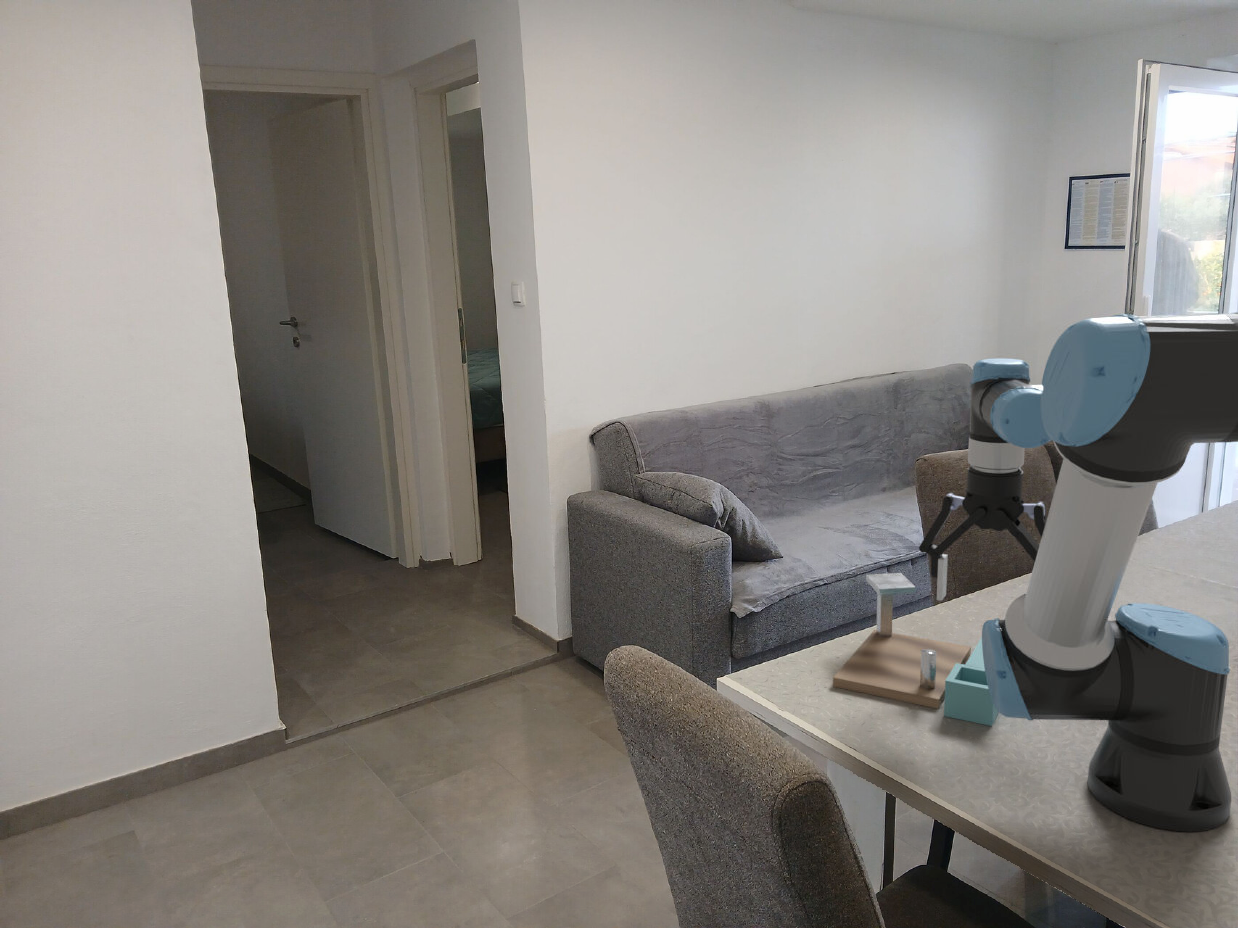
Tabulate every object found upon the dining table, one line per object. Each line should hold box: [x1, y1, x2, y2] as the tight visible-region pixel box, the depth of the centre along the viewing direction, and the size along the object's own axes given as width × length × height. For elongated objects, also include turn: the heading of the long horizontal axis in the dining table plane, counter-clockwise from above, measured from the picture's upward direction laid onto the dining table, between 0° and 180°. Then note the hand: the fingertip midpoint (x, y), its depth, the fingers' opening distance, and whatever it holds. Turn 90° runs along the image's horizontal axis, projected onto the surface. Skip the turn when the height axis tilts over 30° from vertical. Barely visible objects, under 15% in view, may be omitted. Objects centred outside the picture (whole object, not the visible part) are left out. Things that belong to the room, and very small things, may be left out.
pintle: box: [920, 649, 937, 690], centre depth 143 cm, size 2×2×7 cm
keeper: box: [865, 572, 917, 637], centre depth 160 cm, size 7×6×12 cm
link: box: [943, 637, 1000, 727], centre depth 144 cm, size 20×7×6 cm, turn 148°
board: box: [832, 629, 972, 710], centre depth 153 cm, size 21×16×2 cm
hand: (988, 604), depth 143 cm, fingers open, 13 cm apart
